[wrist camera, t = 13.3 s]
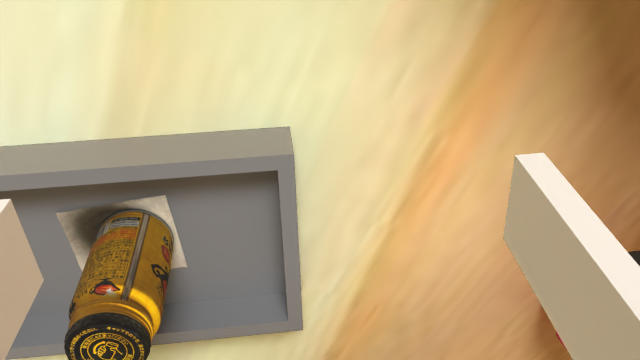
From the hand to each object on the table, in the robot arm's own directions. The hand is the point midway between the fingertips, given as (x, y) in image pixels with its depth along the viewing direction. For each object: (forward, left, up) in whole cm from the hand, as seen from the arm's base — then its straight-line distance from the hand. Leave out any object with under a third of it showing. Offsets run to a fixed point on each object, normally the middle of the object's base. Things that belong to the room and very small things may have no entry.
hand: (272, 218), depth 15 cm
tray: (+11, +19, -27) cm, 35 cm away
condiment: (+12, +19, -26) cm, 34 cm away
